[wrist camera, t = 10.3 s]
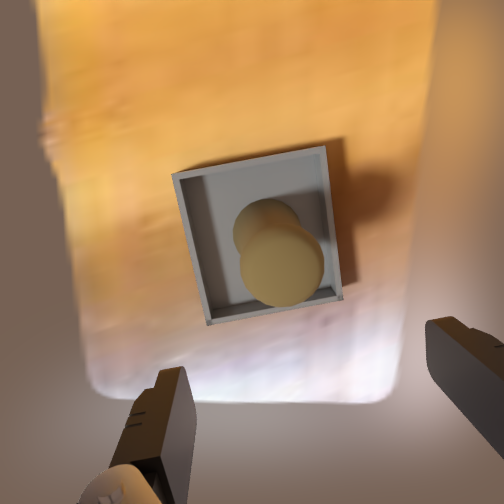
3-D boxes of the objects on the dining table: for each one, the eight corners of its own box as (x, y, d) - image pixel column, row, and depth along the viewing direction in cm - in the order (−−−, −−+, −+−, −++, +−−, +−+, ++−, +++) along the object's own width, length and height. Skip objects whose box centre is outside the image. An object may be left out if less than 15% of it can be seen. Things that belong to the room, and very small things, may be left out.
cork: (306, 202, 30) (347, 227, 19) (296, 269, 32) (329, 326, 21) (235, 195, 30) (237, 216, 19) (229, 263, 31) (228, 318, 20)
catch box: (176, 172, 29) (171, 174, 27) (317, 146, 29) (325, 145, 27) (208, 313, 33) (207, 325, 30) (335, 289, 33) (343, 300, 30)
